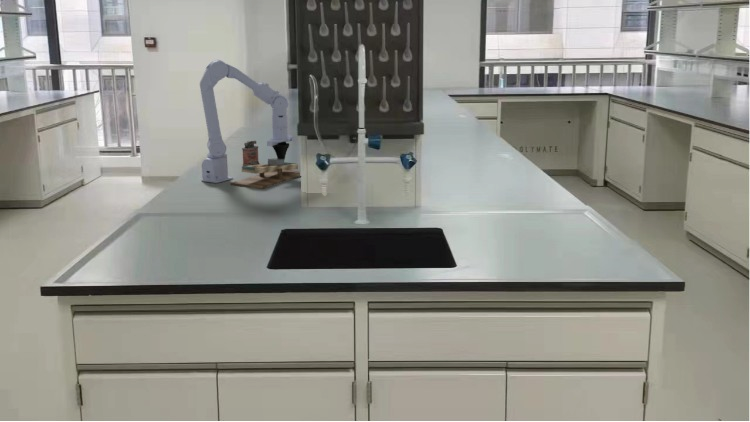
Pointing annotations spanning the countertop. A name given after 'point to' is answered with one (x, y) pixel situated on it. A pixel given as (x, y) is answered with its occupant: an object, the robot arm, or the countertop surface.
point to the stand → (267, 179)
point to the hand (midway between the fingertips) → (281, 162)
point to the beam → (269, 168)
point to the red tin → (250, 154)
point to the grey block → (275, 162)
